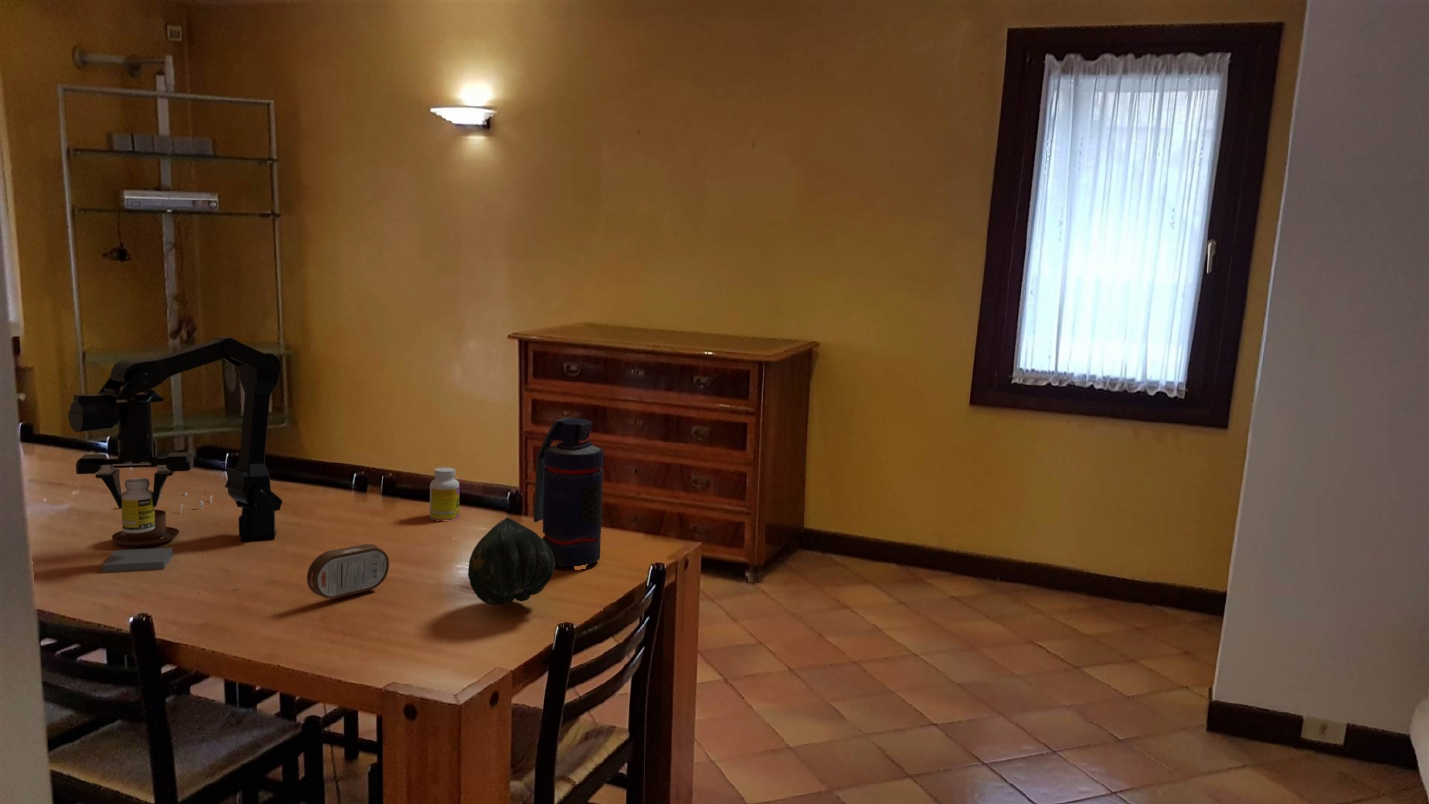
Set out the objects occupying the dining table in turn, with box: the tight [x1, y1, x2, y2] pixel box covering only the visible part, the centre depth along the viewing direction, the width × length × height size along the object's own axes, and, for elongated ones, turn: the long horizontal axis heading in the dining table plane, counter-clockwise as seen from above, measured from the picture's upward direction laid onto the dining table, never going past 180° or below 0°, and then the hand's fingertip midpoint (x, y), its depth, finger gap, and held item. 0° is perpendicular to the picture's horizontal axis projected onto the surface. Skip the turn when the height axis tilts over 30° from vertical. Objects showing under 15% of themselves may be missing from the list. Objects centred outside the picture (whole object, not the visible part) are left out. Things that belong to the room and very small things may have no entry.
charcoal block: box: [102, 547, 174, 574], centre depth 187 cm, size 10×10×2 cm
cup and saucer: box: [111, 509, 180, 547], centre depth 200 cm, size 12×12×6 cm
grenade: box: [533, 416, 605, 567], centre depth 198 cm, size 14×12×30 cm
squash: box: [467, 517, 556, 606], centre depth 172 cm, size 14×15×15 cm
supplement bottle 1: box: [121, 477, 156, 533], centre depth 185 cm, size 5×5×10 cm
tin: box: [306, 543, 390, 600], centre depth 175 cm, size 15×3×8 cm, turn 141°
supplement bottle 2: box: [429, 467, 460, 521], centre depth 226 cm, size 7×7×13 cm
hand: (138, 506), depth 185 cm, fingers closed on supplement bottle 1, 5 cm apart
